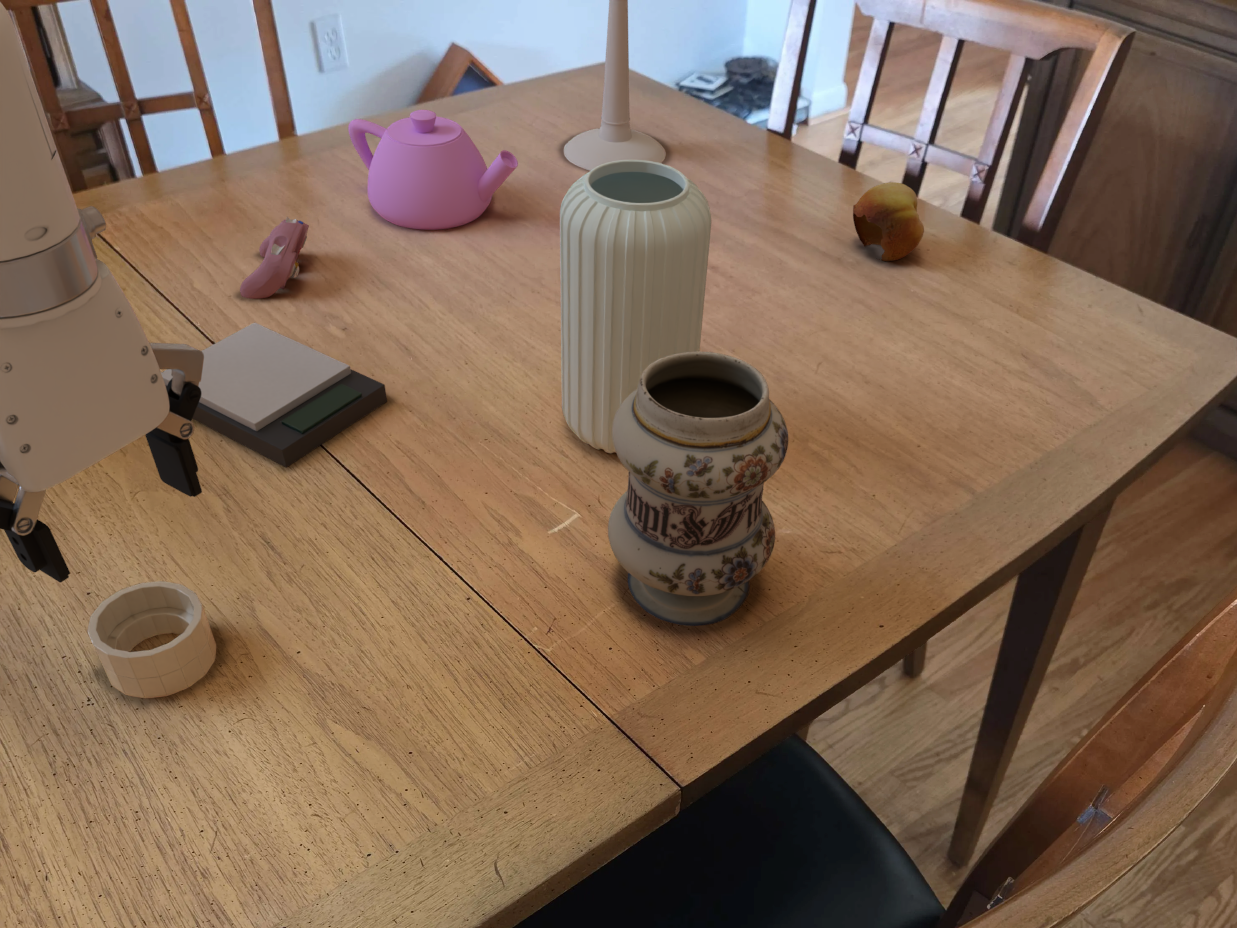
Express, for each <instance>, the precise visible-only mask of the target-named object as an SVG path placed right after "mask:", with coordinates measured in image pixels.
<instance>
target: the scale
mask: <svg viewBox="0 0 1237 928" xmlns="http://www.w3.org/2000/svg"><path fill="white" fill-rule="evenodd" d="M201 351H202V352H203V354H204V362H203V369H202V377H201V382H199V386H198V387H199V388H200V389H201V398H200V401H199V403H198V405H197V408H196V410H195V413H194V415H193V418H192V420H194V421H196V422H198V423H199V424H201V425H204V426H205V427H207V428H209V429H211V430H213V431H215V432H217V433H219V434H220V435H222V436H225V437H226V438H228V439H231V440H233V441H234V442H236V443H238V444H240V445H242V446H244V447H246V448H248V449H250V450H252V451H254V452H256V453H257V454H260V455H261V456H263V457H265V458H267V459H269V460H271V461H273V462H275V463H277V464H279V465H280V466H283V467H284V468H288V467H289V466H291V465H293V464H294V463H296V462H297V461H299V460H300V459H302V458H304V457H306V456H307V455H308V454H309V453H311V452H313V451H314V450H316V449H318V447H320V446H322V445H323V444H324V443H326V442H328V441H329V440H331V439H333V438H334V437H336V436H337V435H338V434H340V433H342V432H343V431H344V430H346V429H347V428H350V427H351V426H353V425H354V424H355V423H357V422H358V421H360V420H361V419H363V418H365V417H366V416H368V415H369V414H370V413H372V412H374V411H376V410H377V409H378V408H379V407H381V406H383V405H384V404H386V403H387V402H388V398H387V397H388V396H387V392H386V391H387V390H386V385H385V384H384V383H382V382H380V381H378V380H376V379H373V378H371V377H370V376H367V375H365V374H363V373H360V372H358V371H356V370H354V369H352V368H351V365H349V364H347V363H346V362H342V361H341V360H338V359H336V358H334V357H331V356H329V355H328V354H325V353H323V352H321V351H318V350H316V349H314V348H313V347H310V346H308V345H306V344H303V343H301V342H300V341H297V340H295V339H292V338H290V337H288V336H285V335H284V334H281V333H279V332H277V331H275V330H273V329H271V328H268V327H267V326H263V325H262V324H259V323H258V322H253V323H251V324H249V325H246V326H245V327H242V328H241V329H239V330H237V331H236V332H234V333H232V334H230V335H228V336H226V337H224V338H223V339H221V340H219V341H217V342H215V343H213V344H212V345H209V346H208V347H206V348H204V349H202V350H201ZM171 373H172V369H164V370H163V371H161V374H162V377H163V380H164V383H165V386H166V387H167V385H168V383H169V381H170V380H171V379H172V378H173V376H172V375H171Z"/></svg>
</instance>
